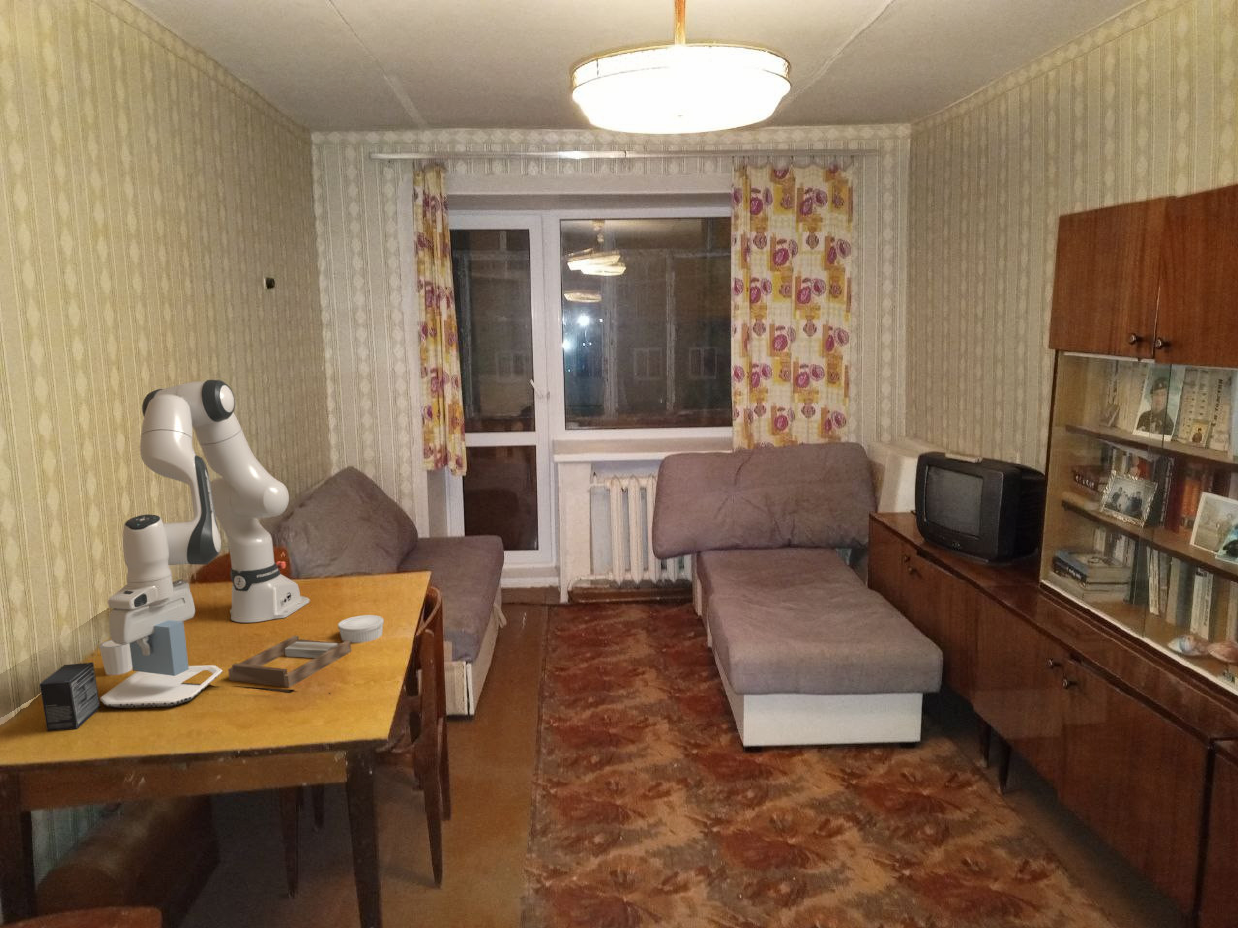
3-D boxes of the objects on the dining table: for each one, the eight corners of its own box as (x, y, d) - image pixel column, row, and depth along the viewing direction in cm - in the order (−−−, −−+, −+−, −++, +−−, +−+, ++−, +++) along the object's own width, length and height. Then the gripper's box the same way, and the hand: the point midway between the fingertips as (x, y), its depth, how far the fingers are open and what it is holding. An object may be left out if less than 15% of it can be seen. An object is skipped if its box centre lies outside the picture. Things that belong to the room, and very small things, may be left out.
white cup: (141, 666, 225) (138, 638, 224) (118, 677, 219) (114, 648, 218) (119, 664, 228) (116, 636, 226) (95, 674, 221) (92, 646, 220)
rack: (297, 650, 232) (295, 630, 231) (353, 656, 226) (351, 636, 226) (230, 685, 211) (227, 664, 210) (289, 693, 205) (287, 671, 204)
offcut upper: (297, 649, 229) (296, 641, 229) (338, 651, 226) (337, 643, 226) (285, 656, 224) (284, 648, 224) (327, 658, 221) (326, 650, 221)
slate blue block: (147, 664, 213) (141, 617, 211) (188, 669, 208) (183, 621, 207) (132, 670, 209) (126, 623, 207) (174, 675, 205) (168, 627, 203)
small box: (70, 710, 201) (63, 663, 199) (101, 707, 202) (95, 661, 200) (44, 731, 191) (37, 682, 189) (77, 729, 191) (71, 680, 190)
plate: (143, 675, 220) (141, 666, 220) (229, 673, 219) (228, 664, 219) (92, 713, 200) (90, 703, 199) (187, 710, 199) (186, 700, 199)
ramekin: (352, 633, 244) (350, 613, 243) (392, 634, 241) (391, 614, 240) (331, 648, 233) (329, 628, 232) (373, 650, 230) (371, 629, 230)
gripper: (176, 575, 216) (183, 633, 219) (100, 602, 197) (109, 665, 200) (198, 577, 214) (204, 635, 216) (123, 604, 195) (131, 667, 197)
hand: (158, 650), depth 208 cm, fingers closed on slate blue block, 4 cm apart
